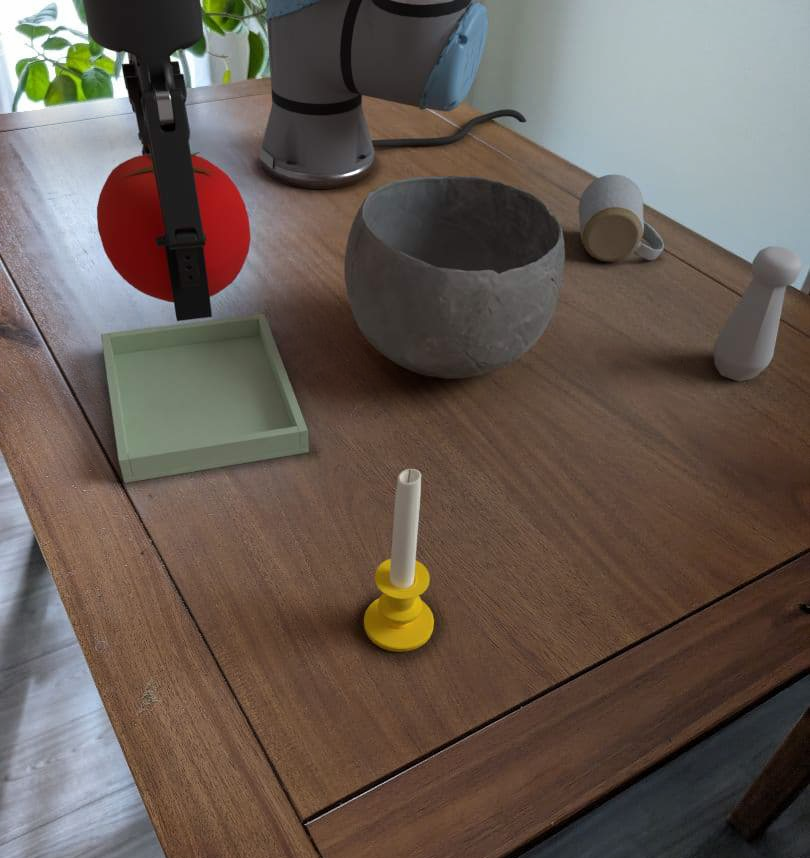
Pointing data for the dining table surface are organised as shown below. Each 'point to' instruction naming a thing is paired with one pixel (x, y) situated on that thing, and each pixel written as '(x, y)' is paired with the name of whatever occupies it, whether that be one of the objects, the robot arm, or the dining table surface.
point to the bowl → (453, 273)
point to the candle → (402, 579)
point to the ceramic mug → (616, 221)
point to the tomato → (142, 222)
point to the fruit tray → (200, 397)
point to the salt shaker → (756, 316)
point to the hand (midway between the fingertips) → (183, 276)
